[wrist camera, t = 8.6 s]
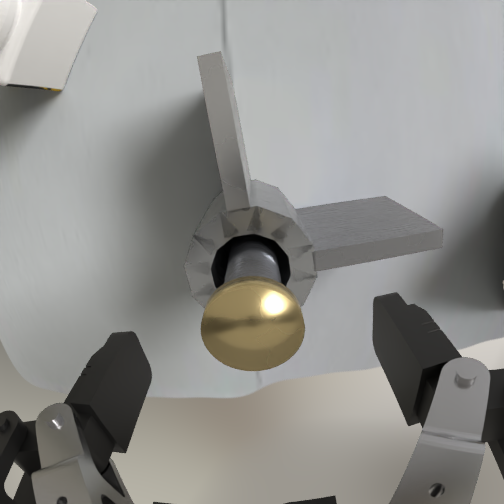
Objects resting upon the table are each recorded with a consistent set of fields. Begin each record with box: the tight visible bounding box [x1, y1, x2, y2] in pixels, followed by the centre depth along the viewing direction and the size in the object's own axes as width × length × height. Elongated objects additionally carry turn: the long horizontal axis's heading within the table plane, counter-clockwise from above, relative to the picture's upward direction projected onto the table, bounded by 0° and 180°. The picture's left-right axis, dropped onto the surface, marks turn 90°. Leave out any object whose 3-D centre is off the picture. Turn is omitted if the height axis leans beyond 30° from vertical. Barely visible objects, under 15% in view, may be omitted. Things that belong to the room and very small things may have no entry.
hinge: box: [184, 51, 443, 308], centre depth 17 cm, size 13×13×8 cm
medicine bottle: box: [0, 0, 97, 91], centre depth 11 cm, size 7×7×12 cm
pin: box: [201, 233, 305, 371], centre depth 16 cm, size 3×3×13 cm
